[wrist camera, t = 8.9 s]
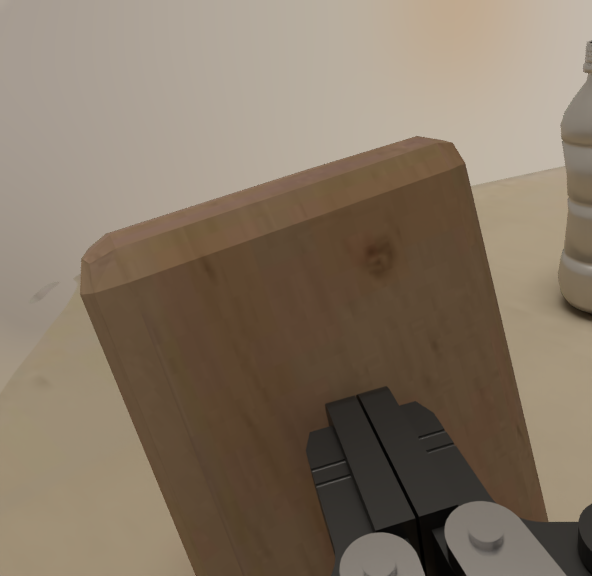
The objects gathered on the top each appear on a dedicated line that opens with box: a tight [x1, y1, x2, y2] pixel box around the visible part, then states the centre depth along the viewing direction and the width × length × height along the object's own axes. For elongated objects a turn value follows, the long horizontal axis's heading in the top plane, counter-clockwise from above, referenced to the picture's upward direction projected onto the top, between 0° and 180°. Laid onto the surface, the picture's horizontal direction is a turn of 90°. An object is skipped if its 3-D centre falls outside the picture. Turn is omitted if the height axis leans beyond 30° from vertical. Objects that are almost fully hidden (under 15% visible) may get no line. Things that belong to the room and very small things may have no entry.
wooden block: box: [80, 136, 548, 576], centre depth 18 cm, size 10×10×20 cm
